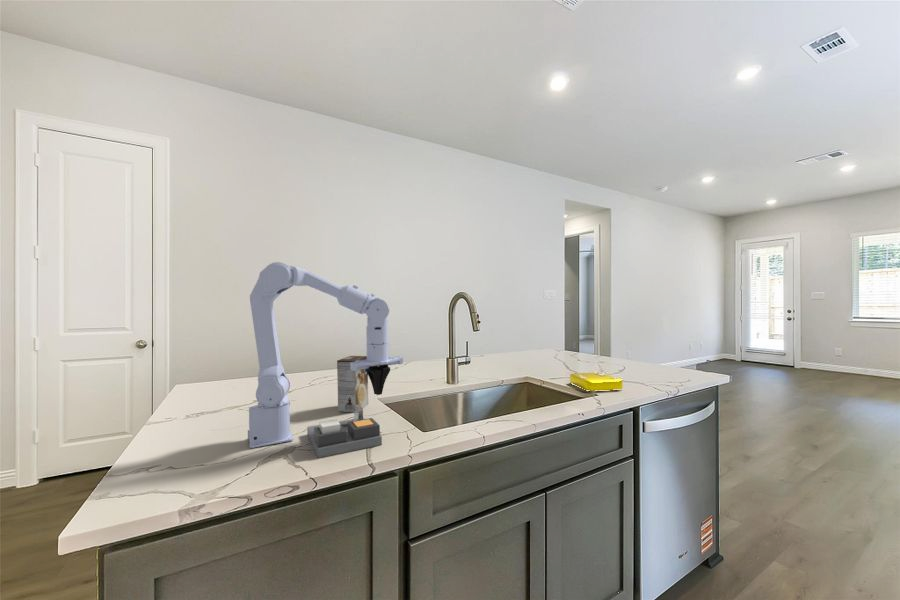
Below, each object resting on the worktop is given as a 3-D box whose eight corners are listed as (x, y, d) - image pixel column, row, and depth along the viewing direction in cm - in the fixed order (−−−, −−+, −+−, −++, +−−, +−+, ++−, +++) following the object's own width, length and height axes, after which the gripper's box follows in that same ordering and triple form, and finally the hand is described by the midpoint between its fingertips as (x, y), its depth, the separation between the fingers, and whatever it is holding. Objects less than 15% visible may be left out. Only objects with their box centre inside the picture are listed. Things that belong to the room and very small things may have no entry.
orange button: (357, 435, 88) (357, 426, 88) (353, 429, 92) (353, 421, 92) (373, 432, 90) (373, 423, 90) (369, 427, 94) (368, 419, 94)
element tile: (568, 384, 151) (568, 372, 151) (601, 382, 153) (601, 370, 153) (588, 393, 136) (588, 380, 136) (625, 391, 139) (625, 378, 139)
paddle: (358, 424, 97) (358, 409, 97) (354, 419, 100) (354, 405, 100) (363, 423, 97) (362, 408, 97) (358, 419, 101) (358, 404, 101)
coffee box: (350, 403, 124) (350, 355, 124) (368, 404, 123) (368, 355, 123) (337, 411, 115) (336, 360, 115) (356, 412, 114) (355, 360, 114)
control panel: (318, 458, 82) (318, 437, 82) (307, 434, 96) (307, 417, 96) (381, 444, 89) (381, 426, 89) (363, 424, 103) (362, 408, 103)
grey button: (322, 435, 85) (322, 427, 85) (319, 430, 88) (319, 422, 88) (340, 432, 86) (340, 424, 86) (336, 427, 90) (336, 419, 90)
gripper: (358, 347, 92) (358, 402, 92) (408, 342, 101) (409, 392, 101) (346, 344, 97) (347, 396, 98) (395, 340, 106) (396, 387, 107)
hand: (378, 393), depth 100 cm, fingers closed
